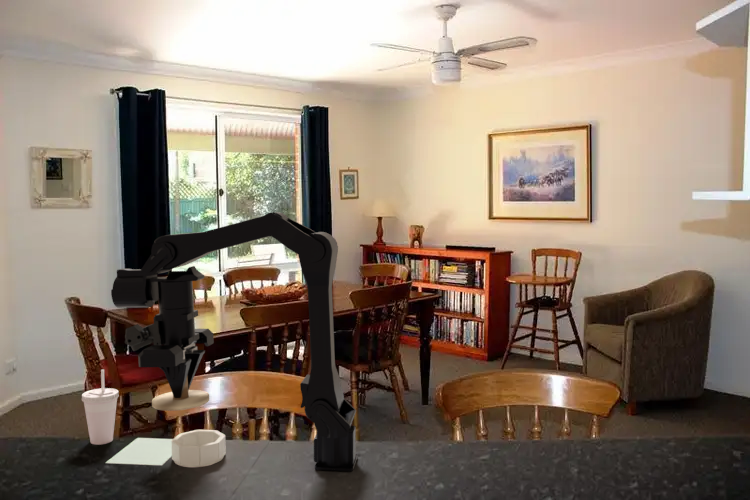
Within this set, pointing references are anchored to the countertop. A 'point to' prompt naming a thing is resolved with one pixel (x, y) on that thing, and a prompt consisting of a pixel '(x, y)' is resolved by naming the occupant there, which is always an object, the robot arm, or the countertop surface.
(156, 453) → the mat
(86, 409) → the smoothie
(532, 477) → the countertop surface
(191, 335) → the robot arm
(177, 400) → the lid
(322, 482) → the countertop surface
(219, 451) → the white octagonal pot
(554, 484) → the countertop surface
